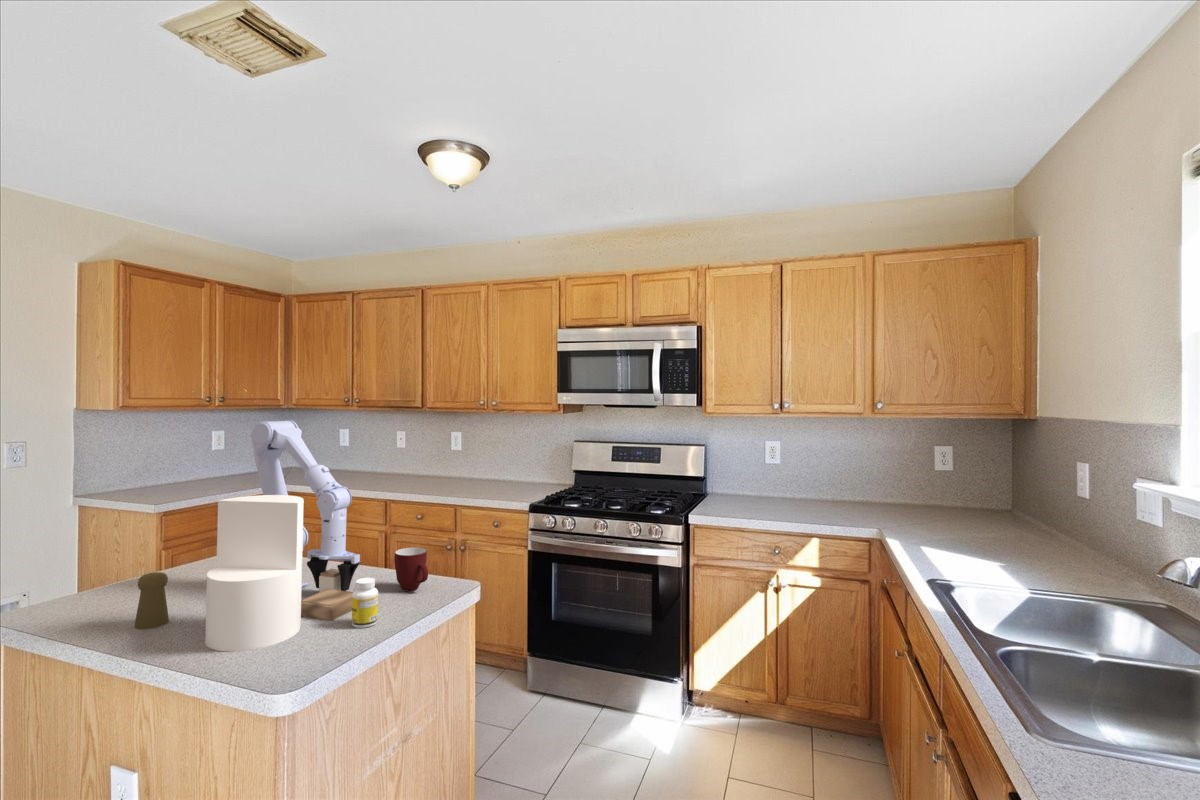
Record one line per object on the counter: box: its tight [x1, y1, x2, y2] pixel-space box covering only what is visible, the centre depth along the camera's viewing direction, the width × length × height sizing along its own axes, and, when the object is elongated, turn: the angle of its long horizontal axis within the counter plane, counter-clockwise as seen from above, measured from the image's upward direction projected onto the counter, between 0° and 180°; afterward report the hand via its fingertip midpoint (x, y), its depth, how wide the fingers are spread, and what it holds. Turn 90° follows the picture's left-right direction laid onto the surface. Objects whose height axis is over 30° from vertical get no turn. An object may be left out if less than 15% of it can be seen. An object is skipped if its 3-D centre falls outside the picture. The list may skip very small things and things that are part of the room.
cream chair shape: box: [204, 494, 305, 652], centre depth 120 cm, size 17×17×28 cm
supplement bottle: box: [351, 577, 379, 629], centre depth 127 cm, size 5×5×10 cm
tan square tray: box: [301, 589, 354, 622], centre depth 134 cm, size 10×10×3 cm
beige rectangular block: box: [318, 567, 341, 593], centre depth 145 cm, size 4×4×6 cm
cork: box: [134, 571, 170, 630], centre depth 124 cm, size 6×6×11 cm
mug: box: [393, 547, 429, 592], centre depth 150 cm, size 10×8×10 cm
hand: (332, 588), depth 145 cm, fingers open, 7 cm apart
